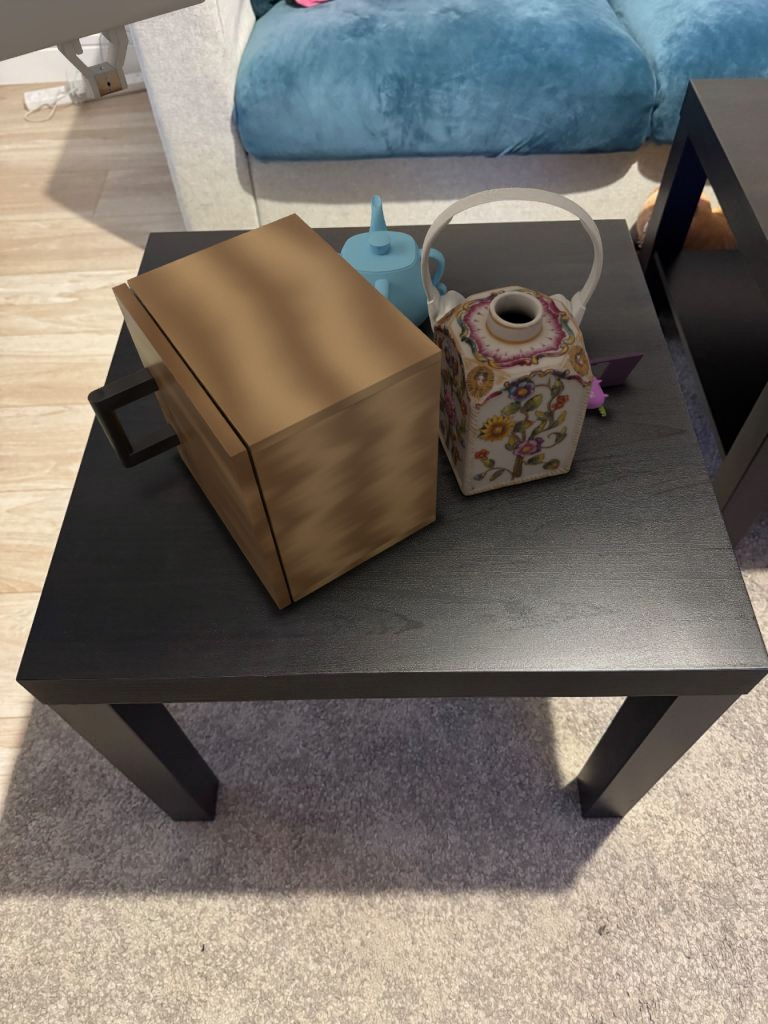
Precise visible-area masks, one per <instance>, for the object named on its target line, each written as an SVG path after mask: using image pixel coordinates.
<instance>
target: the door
mask: <svg viewBox="0 0 768 1024" xmlns="http://www.w3.org/2000/svg"><path fill="white" fill-rule="evenodd" d="M111 290H112V293H113V295H114V297H115V300H116V302H117V305H118V307H119V310H120V312H121V315H122V317H123V319H124V322H125V324H126V327H127V329H128V332H129V334H130V337H131V339H132V341H133V343H134V346H135V349H136V351H137V354H138V356H139V358H140V360H141V363H142V365H143V368H141V369H139V370H137V371H135V372H133V373H130V374H127V375H125V376H124V377H121V378H119V379H117V380H115V381H112V382H110V383H107V384H105V385H103V386H101V387H98V388H96V389H94V390H92V391H90V392H89V393H88V395H87V401H88V403H89V405H90V407H91V409H92V410H93V413H94V415H95V417H96V418H97V420H98V422H99V425H101V426H100V427H101V428H102V430H103V432H104V434H105V436H106V438H107V439H108V441H109V444H110V445H111V447H112V449H113V451H114V453H115V455H116V457H117V459H118V461H119V462H120V464H121V466H122V467H123V468H126V469H131V468H134V467H136V466H138V465H140V464H142V463H144V462H146V461H148V460H151V459H152V458H154V457H156V456H159V455H161V454H163V453H165V452H168V451H169V450H172V449H173V448H175V447H176V448H177V451H178V454H179V456H180V458H181V460H182V461H183V463H184V464H185V466H186V467H187V469H188V470H189V472H190V474H191V475H192V477H193V478H194V480H195V482H196V483H197V485H198V486H199V488H200V489H201V491H202V492H203V493H204V495H205V496H206V498H207V500H208V501H209V503H210V504H211V506H212V507H213V509H214V510H215V512H216V513H217V515H218V517H219V518H220V520H221V521H222V523H223V524H224V526H225V527H226V529H227V530H228V532H229V533H230V535H231V536H232V538H233V540H234V541H235V543H236V544H237V546H238V547H239V549H240V551H241V552H242V553H243V555H244V556H245V558H246V560H247V562H248V563H249V565H250V566H251V568H252V570H253V571H254V572H255V573H256V575H257V576H258V578H259V580H260V581H261V583H262V584H263V585H264V587H265V589H266V590H267V592H268V594H269V595H270V596H271V598H272V600H273V601H274V602H275V605H276V606H277V607H278V609H279V610H283V609H284V608H286V607H288V606H290V605H291V604H292V599H291V597H290V595H289V593H288V589H287V586H286V583H285V579H284V576H283V572H282V569H281V566H280V562H279V559H278V555H277V552H276V548H275V545H274V542H273V538H272V535H271V531H270V528H269V524H268V521H267V518H266V514H265V511H264V507H263V504H262V501H261V497H260V494H259V490H258V487H257V483H256V480H255V477H254V473H253V470H252V466H251V463H250V460H249V456H248V453H247V449H246V448H245V446H244V445H243V444H242V442H241V441H240V440H239V438H238V437H237V435H236V434H235V433H234V431H233V430H232V429H231V427H230V426H229V424H228V423H227V422H226V420H225V419H224V418H223V416H222V415H221V413H220V412H219V411H218V409H217V408H216V407H215V405H214V404H213V402H212V401H211V400H210V398H209V397H208V396H207V394H206V393H205V391H204V390H203V389H202V387H201V386H200V385H199V383H198V382H197V380H196V379H195V378H194V376H193V375H192V374H191V372H190V371H189V370H188V368H187V367H186V365H185V364H184V363H183V361H182V360H181V359H180V357H179V356H178V354H177V353H176V352H175V350H174V349H173V348H172V346H171V345H170V343H169V342H168V341H167V339H166V338H165V337H164V335H163V334H162V332H161V331H160V330H159V328H158V327H157V326H156V324H155V323H154V321H153V320H152V319H151V317H150V316H149V315H148V313H147V312H146V310H145V309H144V308H143V306H142V305H141V304H140V302H139V301H138V299H137V298H136V297H135V295H134V294H133V293H132V291H131V290H130V288H129V285H128V283H127V282H123V283H121V284H118V285H115V286H113V287H111ZM153 393H154V395H155V397H156V400H157V402H158V405H159V407H160V409H161V412H162V414H163V417H164V419H165V422H166V425H164V426H162V427H159V428H157V429H155V430H153V431H151V432H149V433H147V434H144V435H142V436H140V437H137V438H136V439H134V440H131V441H130V439H129V437H128V436H127V433H126V432H125V430H124V427H123V425H122V423H121V420H120V419H119V417H118V415H117V413H116V410H118V409H120V408H122V407H125V406H126V405H129V404H131V403H133V402H136V401H138V400H140V399H142V398H145V397H146V396H149V395H151V394H153Z"/></svg>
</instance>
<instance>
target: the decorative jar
mask: <svg viewBox="0 0 768 1024" xmlns="http://www.w3.org/2000/svg"><path fill="white" fill-rule="evenodd" d="M432 342H433V343H434V344H435V345H437V346H438V347H439V348H440V349H441V350H442V355H441V381H440V409H439V436H438V439H439V441H440V443H441V445H442V448H443V450H444V452H445V455H446V457H447V460H448V462H449V465H450V467H451V469H452V471H453V473H454V477H455V479H456V481H457V484H458V487H459V489H460V491H461V493H462V494H463V495H464V496H473V495H476V494H480V493H481V494H482V493H485V492H489V491H492V490H493V491H494V490H496V489H501V488H504V487H509V486H514V485H519V484H523V483H528V482H531V481H535V480H540V479H544V478H548V477H554V476H558V475H563V474H567V473H568V472H570V470H571V466H572V463H573V460H574V457H575V453H576V450H577V446H578V442H579V440H580V437H581V432H582V428H583V424H584V420H585V418H586V412H587V405H588V400H589V397H590V393H591V389H592V386H593V381H594V378H593V376H594V375H593V373H592V366H591V364H590V360H591V358H590V355H589V354H588V352H587V350H586V346H585V340H584V337H583V333H582V331H581V329H580V326H579V327H578V324H577V322H576V321H575V319H574V317H573V315H572V314H571V312H570V311H569V310H568V309H567V307H566V306H565V305H564V303H562V302H561V301H558V300H556V299H553V298H551V297H550V296H549V295H547V294H544V293H542V292H540V291H538V290H532V289H530V288H527V287H523V286H520V285H510V286H504V287H498V288H493V289H492V288H491V289H487V290H485V291H481V292H478V293H474V294H471V295H469V296H468V297H466V298H465V300H464V301H463V302H462V303H460V304H459V305H457V306H456V307H455V308H453V309H451V310H450V311H449V312H448V313H446V314H445V315H444V316H443V317H442V318H441V319H440V320H438V321H437V322H436V323H435V325H434V333H433V340H432Z"/></svg>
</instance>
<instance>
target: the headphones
mask: <svg viewBox="0 0 768 1024" xmlns="http://www.w3.org/2000/svg"><path fill="white" fill-rule="evenodd" d="M504 201H526V202H528V201H529V202H537V203H542V204H547V205H551V206H553V207H558V208H560V209H562V210H564V211H567V212H569V213H570V214H572V215H574V216H575V217H577V218H578V220H579V222H580V224H581V226H582V228H583V229H584V230H585V231H586V232H587V234H588V236H589V238H590V240H591V242H592V246H593V251H594V256H593V257H594V258H593V264H592V267H591V270H590V273H589V275H588V277H587V280H586V282H585V284H584V286H583V287H582V289H581V290H578V291H577V292H576V293H575V294H574V295H573V296H572V297H571V299H570V300H569V299H567V297H565V296H564V295H563V294H561V293H556V294H552V295H550V296H549V297H551V298H553V299H556V300H558V301H561V302H562V303H564V305H565V306H566V307H567V309H568V310H569V311H570V312H571V314H572V315H573V317H574V319H575V321H576V322H577V324H578V327H579V328H580V326H581V324H582V321H583V318H584V316H585V312H586V310H587V304H588V303H589V301H590V299H591V297H592V296H593V294H594V292H595V290H596V288H597V286H598V284H599V282H600V277H601V274H602V270H603V265H604V264H603V263H604V249H603V243H602V238H601V235H600V231H599V228H598V227H597V224H596V222H595V221H594V219H593V217H592V216H591V215H590V214H589V212H587V211H586V210H585V209H584V208H583V207H582V206H581V205H580V204H578V203H577V202H575V201H573V200H572V199H570V198H568V197H566V196H564V195H561V194H559V193H556V192H554V191H553V192H552V191H549V190H544V189H540V188H532V187H500V188H491V189H486V190H482V191H479V192H475V193H473V194H470V195H467V196H464V197H463V198H461V199H458V200H457V201H456V202H453V203H452V204H450V205H448V207H447V208H445V209H444V210H443V211H442V212H441V213H440V214H439V215H438V216H437V217H436V218H435V220H433V222H432V223H431V225H430V227H429V228H428V231H427V232H426V235H425V238H424V240H423V243H422V248H421V249H422V255H421V275H422V282H423V286H424V289H425V293H426V296H427V305H428V312H429V315H428V317H429V320H430V321H429V322H430V326H431V330H432V333H433V334H434V325H435V323H436V322H437V321H438V320H440V319H441V318H442V317H443V316H444V315H445V314H446V313H448V312H449V311H450V310H451V309H453V308H455V307H456V306H457V305H459V304H460V303H462V302H463V301H464V300H465V299H466V298H465V297H464V296H463V294H461V293H460V292H458V291H456V290H449V291H447V292H446V295H443V296H441V297H440V294H439V292H438V291H439V289H436V287H435V286H433V285H432V278H431V274H430V269H429V259H430V258H429V253H430V249H431V248H433V244H434V242H435V240H436V239H437V237H438V236H439V235H440V233H441V232H442V231H443V230H444V229H445V228H446V227H447V226H448V225H449V224H450V223H451V221H452V220H453V218H454V216H456V215H458V214H459V213H462V212H464V211H466V210H468V209H470V208H473V207H477V206H481V205H484V204H489V203H495V202H504Z"/></svg>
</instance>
